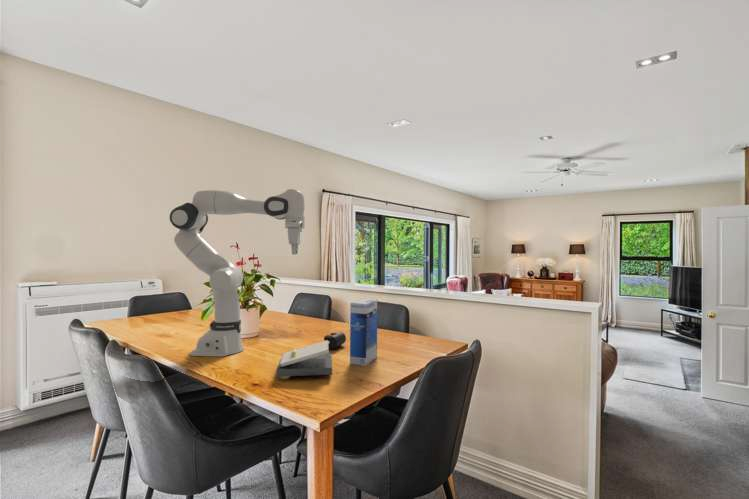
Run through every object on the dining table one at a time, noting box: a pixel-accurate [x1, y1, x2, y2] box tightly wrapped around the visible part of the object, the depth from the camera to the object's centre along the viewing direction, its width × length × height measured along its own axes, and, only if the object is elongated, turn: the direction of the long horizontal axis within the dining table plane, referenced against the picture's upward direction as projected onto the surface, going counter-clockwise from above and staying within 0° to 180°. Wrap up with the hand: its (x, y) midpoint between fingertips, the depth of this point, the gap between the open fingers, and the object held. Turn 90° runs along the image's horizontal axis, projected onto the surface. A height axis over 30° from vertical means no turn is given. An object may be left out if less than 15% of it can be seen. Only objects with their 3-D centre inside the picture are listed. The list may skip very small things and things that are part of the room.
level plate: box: [277, 340, 330, 367], centre depth 143 cm, size 19×14×3 cm
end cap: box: [323, 331, 347, 351], centre depth 178 cm, size 10×7×7 cm
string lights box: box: [349, 298, 378, 367], centre depth 158 cm, size 13×8×26 cm, turn 157°
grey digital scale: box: [275, 352, 333, 382], centre depth 143 cm, size 20×18×4 cm
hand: (294, 254), depth 171 cm, fingers open, 8 cm apart
